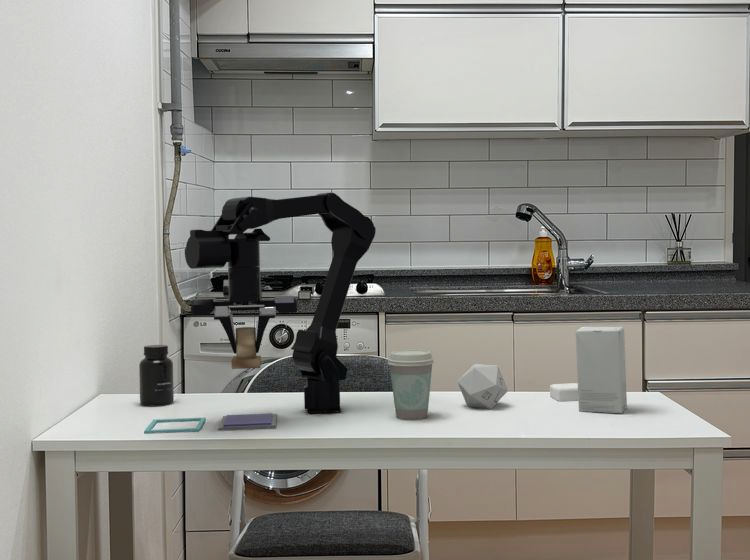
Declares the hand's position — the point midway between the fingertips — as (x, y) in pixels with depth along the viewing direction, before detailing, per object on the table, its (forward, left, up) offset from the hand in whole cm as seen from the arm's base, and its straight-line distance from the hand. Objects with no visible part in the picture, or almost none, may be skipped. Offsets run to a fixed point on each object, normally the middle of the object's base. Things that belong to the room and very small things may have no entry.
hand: (246, 353), depth 152 cm
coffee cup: (-30, 0, -13) cm, 33 cm away
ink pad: (0, 0, -13) cm, 13 cm away
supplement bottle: (+20, -23, -13) cm, 33 cm away
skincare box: (-66, +1, -13) cm, 67 cm away
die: (-45, -7, -13) cm, 47 cm away
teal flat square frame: (+13, 0, -13) cm, 18 cm away
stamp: (0, 0, -2) cm, 3 cm away
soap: (-65, -11, -13) cm, 67 cm away
